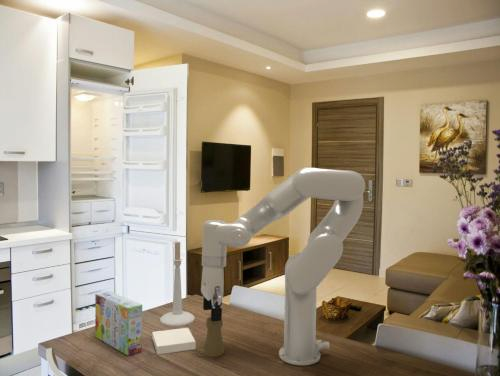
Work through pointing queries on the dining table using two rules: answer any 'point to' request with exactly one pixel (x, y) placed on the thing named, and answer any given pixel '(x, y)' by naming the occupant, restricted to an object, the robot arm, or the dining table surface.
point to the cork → (214, 338)
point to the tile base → (173, 340)
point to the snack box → (118, 322)
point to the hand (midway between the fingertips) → (211, 314)
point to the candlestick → (177, 298)
